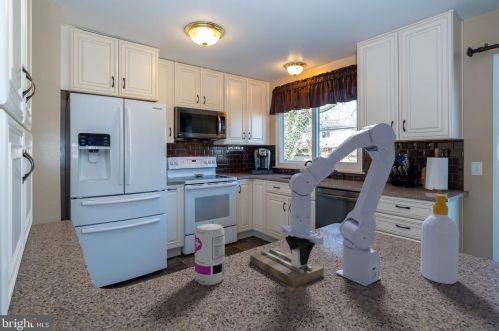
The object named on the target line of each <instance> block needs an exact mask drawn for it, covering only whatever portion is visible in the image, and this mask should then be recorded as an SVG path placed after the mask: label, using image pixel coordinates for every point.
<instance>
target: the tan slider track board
mask: <svg viewBox="0 0 499 331" xmlns="http://www.w3.org/2000/svg"><path fill="white" fill-rule="evenodd" d="M249 262H250V264H252V265H254V266H256V267H257V268H259V269H261V270H263V271H264V272H266V273H268V275H269V274H270V275H271V276H273V277H274V278H276V279H278V280H280V281H282V282H284V284H286V285H289V286H290V287H291V288H293V289H296V288H299V287H300V286H303V285H305V284H308V283H309V282H313V281H315V280H318V279H319V278H322V277H324V274H325V273H324V272H325V271H324V270H325V268H324V267H323V266H321V265H319V264H316V263H314V262H312V261H309V264H308V265H306V269H304V270H302V269H300V268H296V267H294V266H292V254H291V252H289V251H286V249H285V250H284V249H282V248H280V247H275V248H269V249H267V250H264V249H263V250H261V252H256V253H253V254H252V253H251V254H250V255H249Z"/></svg>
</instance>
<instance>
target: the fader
mask: <svg viewBox="0 0 499 331" xmlns="http://www.w3.org/2000/svg"><path fill="white" fill-rule="evenodd" d="M309 260H310V259H308V263H307V264H306V265H308V264H309ZM306 265H303V266H302V265H301V264H300V252H299V248H297V249H293V250H292V266H294V267H296V268H300V269H302V270H304V269H306Z"/></svg>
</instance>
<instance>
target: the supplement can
mask: <svg viewBox="0 0 499 331" xmlns="http://www.w3.org/2000/svg"><path fill="white" fill-rule="evenodd" d="M225 233H226V231H225V229H224V228H223V225H222V224H220V223H216V222H206V223H201V224H198V225H197V226H196V229H195V231H194V280H195V281H196V282H197V284H200V285H202V286H213V285H214V286H215V285H218V284H220V283H221V282H222V280H224V278H225V272H226V271H225V264H226V263H225V262H226V261H225V259H226V258H225V255H226V254H225V251H226V249H225V245H226V244H225V239H226V238H225V236H226V235H225Z"/></svg>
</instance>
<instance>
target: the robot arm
mask: <svg viewBox="0 0 499 331" xmlns="http://www.w3.org/2000/svg"><path fill="white" fill-rule="evenodd" d="M397 137H398V136H397V134H396V132H395V130H394V129H393V127H392V126H391V125H390V124H389V123H386V122H379V123H377V124H373V125H369V126H368V125H365V126H363V127H360V128H359V129H358V130H356V131H354V132H352V134H350V135H349V137H347V138H346V139H344V141H342V142H341V143H340V144H339V145H337V147H336V148H334V150H332V151H331V152H330V153H329V154H328V155H326V156H324V155H319V156H315V157H314V158H312V162H310V164H307V166H306V167H302V168H300V169H299V173H295V174H293V175H292V176H291V177H290V179H289V182H288V187H289V189H290V190H291V191H290V194H291V195H290V224H289V225H287V224H283V225H280V232H281V233H284V234H288V236H285V237H284V238H285V242H286V244H287V245H288V247H289V250H290V253H291V254H292V250H293V249H297V248H299V252H300V264H301V265H302V266H303V265H306V264H307V263H308V259H309V258H310V255H311V252H312V251H313V249H314V247H315V245H316V246H321V245H323V244H324V236H321V235H319V234H317V233H316V232H314V231H312V228H311V227H312V226H311V225H312V193H313V192H314V190H315V187H316V186H317V185H318V184H319V183H320V182H322V181H324V179H326V178H327V177H328V176H329V175H331V174H332V173H333V172H334V170H335V165H336V164H338V163H339V162H341V161H342V160H343V159H345V158H346V157H347V156H349V155H350V154H352V153H354V151H356V150H357V149H361V148H362V149H364V151H366V152H367V153H368V155H369V156H370V159H371V163H370V166H369V168H368V171H367V174H366V176H365V179H364V182H363V185H362V187H361V190H360V192H359V195H358V197H357V200H356V203H355V205H354V208H353V210H351V211H350V212H348V213H347V215H346V218H345V219H344V220H343V221H341V224H339V225H340V226H339V232H340V235H341V236H342V237H343V240H342V269H339V270H336V271H335V273H336V274H337V275H339V276H341V277H344V278H345V279H346V278H347V280H351V281H352V282H355V283H356V284H360V285H362V286H363V287H364V286H365V287H367V286H369V285H372V284H374V282H377V281H379V280H380V279H382V277H381V276H380V272H381V271H380V268H381V267H380V264H381V259H380V258H381V257H380V253H379V252H378V251H377V250H375V249H373V248H371V246H373V245H374V242H375V241H376V240H375V239H376V234H375V231H376V227H377V223H376V222H375V218H374V216H375V214H376V211H377V208H378V205H379V202H380V199H381V197H382V195H383V192H384V190H385V189H384V188H385V186H386V184H387V181H388V179H389V177H390V173H391V170H392V168H393V166H394V163H395V160H396V148H395V142H396V140H397ZM309 260H310V259H309Z"/></svg>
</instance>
